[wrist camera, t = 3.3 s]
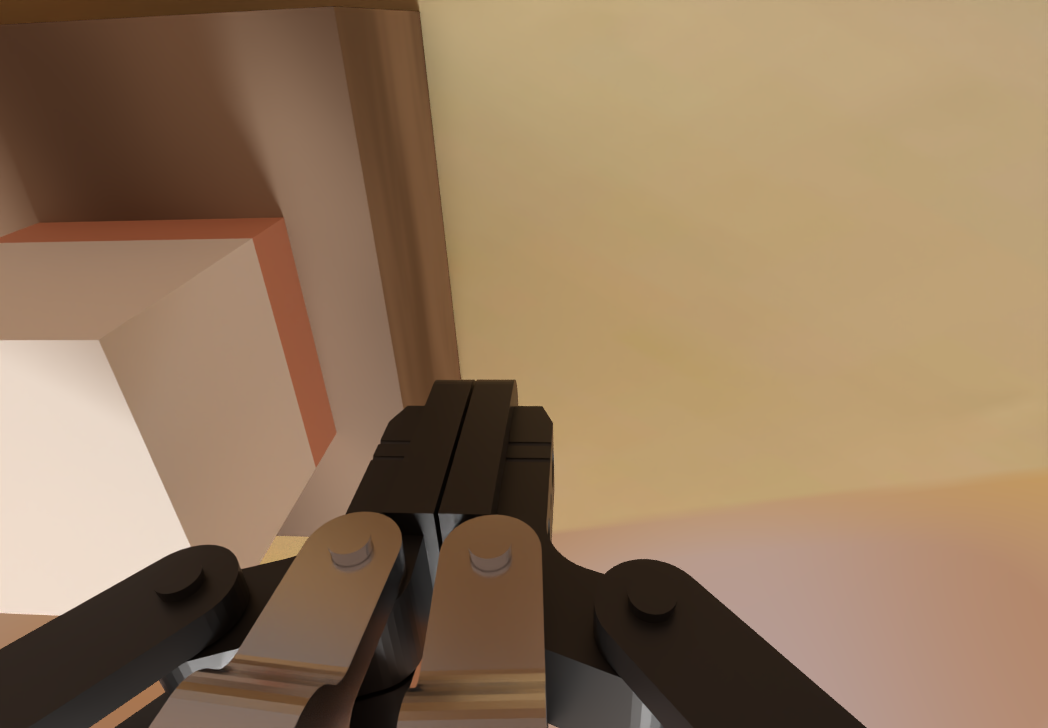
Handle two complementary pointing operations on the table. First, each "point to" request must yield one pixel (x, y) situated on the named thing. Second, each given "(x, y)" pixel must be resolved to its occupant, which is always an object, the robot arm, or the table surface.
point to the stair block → (258, 178)
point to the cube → (148, 399)
